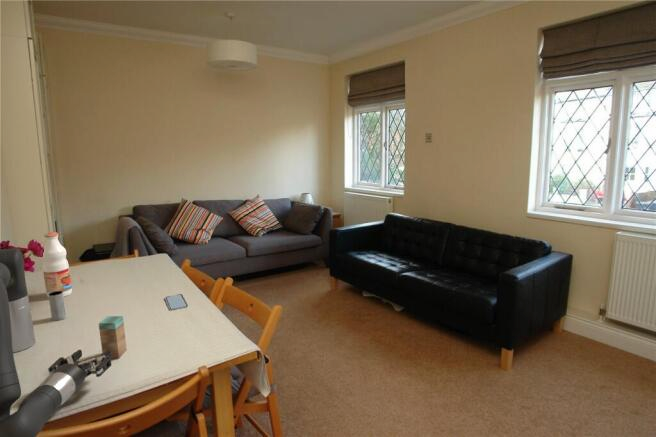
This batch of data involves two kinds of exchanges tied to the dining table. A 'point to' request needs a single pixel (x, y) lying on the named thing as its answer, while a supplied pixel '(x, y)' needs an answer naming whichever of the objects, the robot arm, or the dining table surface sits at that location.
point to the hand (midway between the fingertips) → (95, 352)
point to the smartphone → (176, 302)
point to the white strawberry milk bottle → (55, 266)
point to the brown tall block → (113, 336)
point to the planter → (57, 305)
